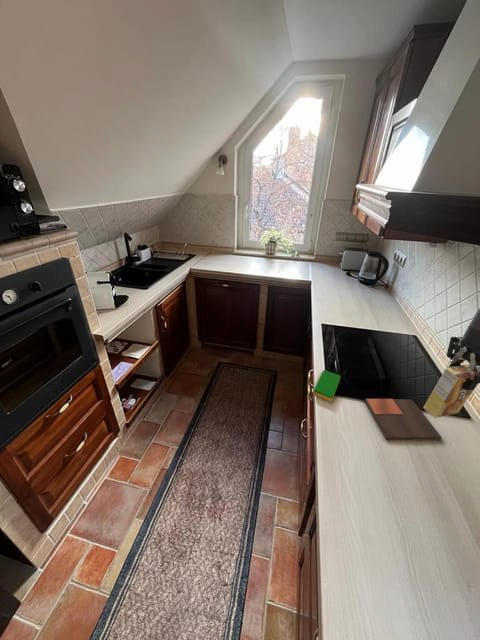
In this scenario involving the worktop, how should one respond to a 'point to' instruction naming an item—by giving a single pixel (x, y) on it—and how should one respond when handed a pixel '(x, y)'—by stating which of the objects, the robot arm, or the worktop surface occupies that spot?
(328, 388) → the dish sponge
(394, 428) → the board
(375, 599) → the worktop surface
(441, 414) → the candy box
